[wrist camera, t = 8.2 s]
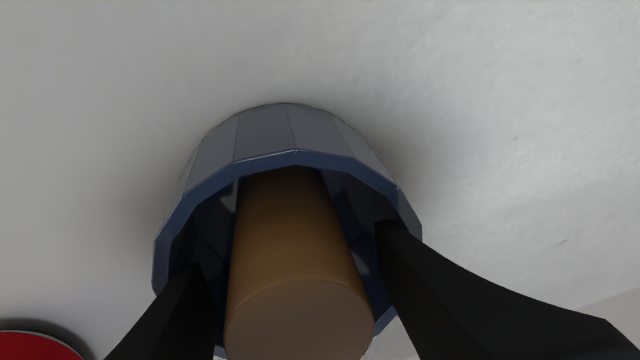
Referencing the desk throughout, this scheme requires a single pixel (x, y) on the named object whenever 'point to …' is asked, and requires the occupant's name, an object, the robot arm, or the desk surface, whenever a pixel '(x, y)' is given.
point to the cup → (266, 154)
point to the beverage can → (33, 347)
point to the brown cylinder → (293, 274)
